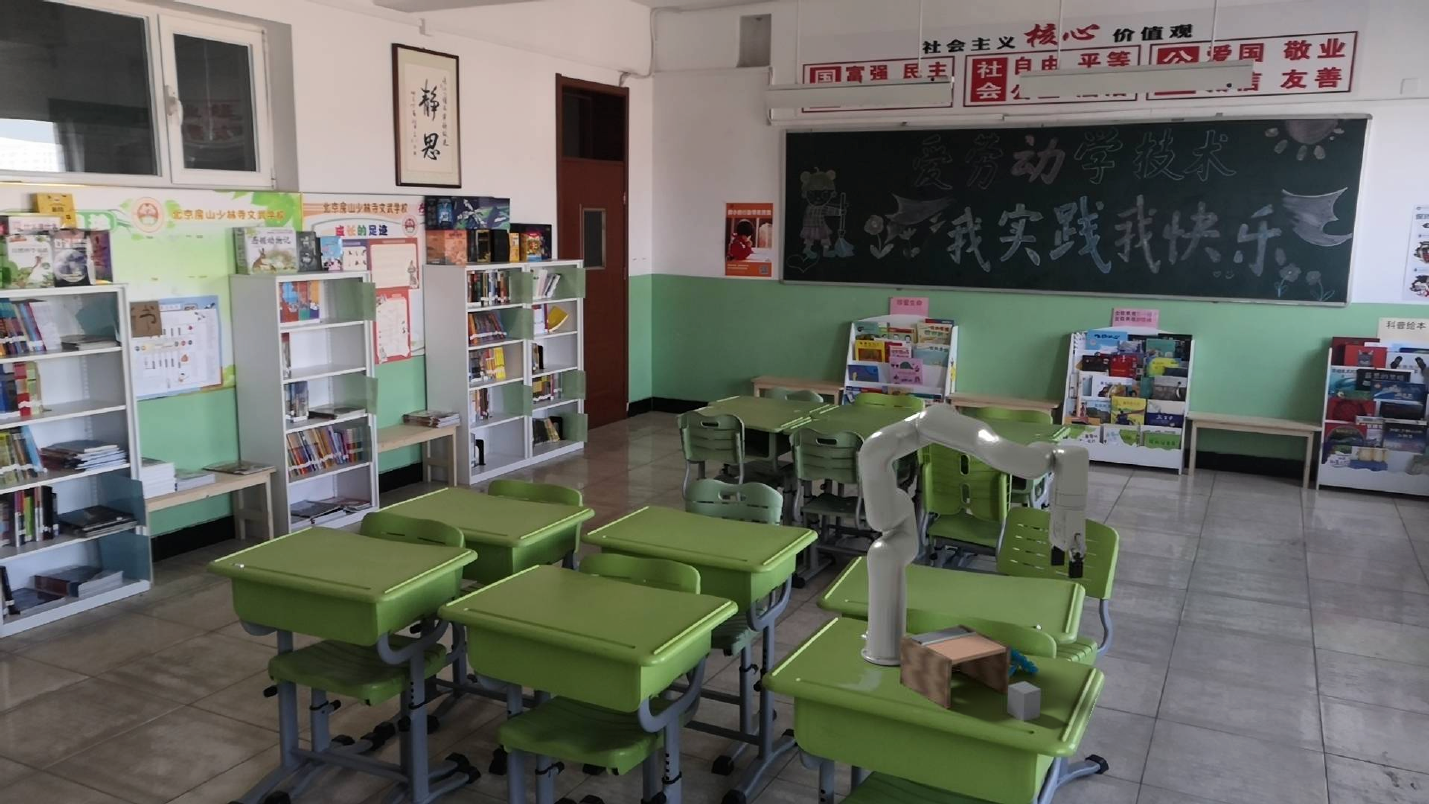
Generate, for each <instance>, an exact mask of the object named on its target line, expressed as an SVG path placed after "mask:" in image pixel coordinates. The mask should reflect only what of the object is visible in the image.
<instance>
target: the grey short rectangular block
mask: <svg viewBox="0 0 1429 804" xmlns="http://www.w3.org/2000/svg"><path fill="white" fill-rule="evenodd" d="M1041 695H1042V689H1041V688H1039V687H1037V686H1035V685H1033V684H1031V683H1029V682H1027V681H1025V680H1024V681H1019V682H1017V683H1012V684H1009V685H1008V694H1007V699H1006V700H1007V703H1006V704H1007V705H1006V714H1009V715H1010V716H1012V717H1014V718H1015V719H1018V720H1020V721H1022V722H1026V721H1030V720H1033V719H1037V718H1039V717H1041V699H1042V698H1041V697H1042V696H1041Z"/></svg>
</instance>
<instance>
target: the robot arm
mask: <svg viewBox="0 0 1429 804" xmlns="http://www.w3.org/2000/svg"><path fill="white" fill-rule="evenodd" d="M933 443H936V444H939V445H940V446H944V447H946V448H950V449H953V450H956V451H958V452H961V453H964V454H967V455H969V456H972V457H974V458H976V459H978V460H979V461H981V462H983V463H985V464H986V465H987V466H989V467H992V468H994V469H996V470H999V471H1000V472H1004V473H1006V474H1009V475H1012V476H1015V477H1018V478H1021V479H1025V480H1031V481H1032V480H1038V479H1040V478H1042V477H1044V476H1045V475H1046V474H1050V473H1053V484H1052V503H1051V509H1050V518H1049V524H1048V525H1049V527H1048V541H1049V542H1050V548H1051V549H1050V566H1051V567H1058V566H1059V567H1062V566H1063V567H1064V566H1065V557H1066V552H1068V555H1069V558H1070V560H1068V571H1067V572H1068V573H1067V574H1068V576H1067V577H1068V578H1069V579H1083V576H1084V575H1083V574H1084V562H1085V558H1086V556H1087V555H1086V553H1087V549H1088V546H1087V545H1086V530H1087V529H1086V528H1087V527H1086V512H1085V511H1086V510H1085V509H1087V506H1088V505H1087V504H1088V490H1089V488H1088V486H1089V483H1088V482H1089V466H1090V452H1089V450H1088V449H1087V448H1085V447H1083V446H1079V445H1061V444H1057V443H1056V444H1055V443H1051V442H1047V441H1034V442H1032V443H1030V444H1029V445H1024V444H1022V443H1018V442H1015V441H1013V440H1009V439H1007V438H1005V437H1002V436H1001V435H999V434H997V433H996V432H995V431H994V430H993V429H992V427H991V426H990V425H989V424H988V423H987V422H985V421H983V420H980V419H976V418H973V417H970V416H967V415H964V414H961V413H960V412H959V411H958V410H957V409H956V407H954V406H953V405H951V404H950V403H946V402H936V403H935V404H931V405H928V406H927V407H925V408H923V409H922V410H921V411H920V412H918V413H916V414H913V415H911V416H909V417H907V418H904V419H902V420H900V421H898V422H895V423H893V424H889V425H887V426H884V427H882V428H880V429H878V430H876V431H875V432H874V433H872V434H871V435H869V436H868V437H867V438H866V439H865V440H864V442H863V443H862V445H861V448H860V450H859V455H858V461H859V463H858V464H859V470H860V477H861V482H862V483H861V484H862V485H861V486H862V494H863V501H864V502H863V503H864V511H865V517H866V521H867V523H868V526H870V528H871V529H873V530H874V531H876V532H878V533H880V532H881V533H882V536H880V537H879V538H877V539H875V541H874V542H872V544H871V545H870V546H869V549H868V551H867V554H866V565H867V574H868V610H867V611H868V615H867V616H868V617H867V620H868V621H867V631H866V632H865V634H862V635H861V639H862V640H864V641H865V646H864V647H863V648H862V649H861V651H860V653H861V655H860V656H861V657H862V658H863V659H864V660H865V661H867V662H870V663H872V664H876V665H881V666H899V665H900V664H901V637H907V636H906V635H907V633H906V632H907V631H906V630H907V604H908V601H907V597H908V596H907V595H908V594H907V592H908V588H907V578H906V577H907V576H906V567H907V566H908V565H910V563H912V562H913V561H914V560H915V558H917V556H918V554H919V548H920V545H919V533H918V527H917V526H918V525H917V519H916V513H915V506H914V502H913V500H912V498H911V497H910V496H909V494H908V493H907V492H906V491H905V490H903V489H901V488H899V487H898V486H897V477H896V473H895V470H894V468H893V462H894V461H895V460H898V459H900V458H903V457H905V456H907V455H909V454H911V453H914V452H915V451H918V450H920V449H922V448H924V447H927V446H928V445H931V444H933Z"/></svg>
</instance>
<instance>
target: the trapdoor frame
mask: <svg viewBox="0 0 1429 804" xmlns="http://www.w3.org/2000/svg"><path fill="white" fill-rule="evenodd" d="M958 627H960V628H962V629H964V630H966V631H967V632H969V633H972V632H976V633H977V634H978V635H980V636H982V637H984V638H986V639H989V640H991V641H993V642H995V643H997V644H999V645H1002V646H1004V647H1006V652H1002V653H998V654H994V655H990V656H985V657H981V658H977V659H973V660H968V661H964V662H960V663H956V664H952V660H950V659H948V658H946V657H944V656H942V655H940V654H938V653H936V652H934V651H932V650H931V649H929V648H927V647H925V646H923V645H921V644H919V643H917V642H915V641H913V640H911V639H909V637H907V636H906V637H901V664H900V667H899V669H900V671H899V672H900V673H899V683H900V684H901V685H902V686H904V685H905V686H904V687H906V688H908V687H909V688H908V689H910V688H911V689H912V690H911V689H910V690H911V691H913V690H914V692H915V691H916V692H915V693H917V694H918V693H920V694H922V695H923V696H922V695H921V696H922V697H924V696H926V697H927V698H929V699H931V700H932V701H931V700H930V701H931V702H933V701H934V702H936V703H937V704H936V703H935V704H936V705H938V706H940V705H941V706H942V708H943V707H944V709H945V708H946V709H945V710H949V709H948V708H950V709H951V690H952V673H956V672H955V671H957V670H961V671H963V672H964V673H963V672H962V673H963V674H965V673H967V674H968V675H967V674H966V675H967V676H969V677H971V676H972V677H971V678H973V679H975V680H977V681H979V682H981V683H983V684H984V685H986V684H987V686H988V687H990V688H992V689H994V690H996V691H998V692H1001V693H1002V694H1004V695H1008V685H1010V677H1009V672H1010V669H1011V665H1010V650H1011V649H1012V645H1008V644H1007V643H1004V642H1002V641H999V640H997V639H995V638H993V637H991V636H989V635H986V634H985V633H982V632H980V631H977V630H975V629H973V628H971V627H968V626H966V625H964V624H958ZM961 671H960V672H961ZM957 672H958V671H957ZM920 694H919V695H920ZM926 697H925V698H926ZM927 698H926V699H927ZM929 699H928V700H929ZM934 702H933V703H934ZM941 706H940V707H941Z"/></svg>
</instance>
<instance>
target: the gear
mask: <svg viewBox="0 0 1429 804" xmlns="http://www.w3.org/2000/svg"><path fill="white" fill-rule="evenodd" d="M1027 658H1028V657H1027V656H1026V655H1024V654H1022V655H1021V654H1020V652H1019V651H1018V650H1017V649H1015V648H1014V649H1012V648H1011V650H1010V666H1012V667H1010V672H1009V678H1011V677H1012V675H1013V674H1014V673H1015V671H1016V670H1017V669H1019V668H1020V667H1021V668H1022V669H1023V670H1024V671H1028V672H1029V673H1030V674H1034V675H1037V674H1038V673H1039V668H1038V667H1037V666H1035V664H1034V662H1032V661H1031V660H1029V661H1028V660H1027Z"/></svg>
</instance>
